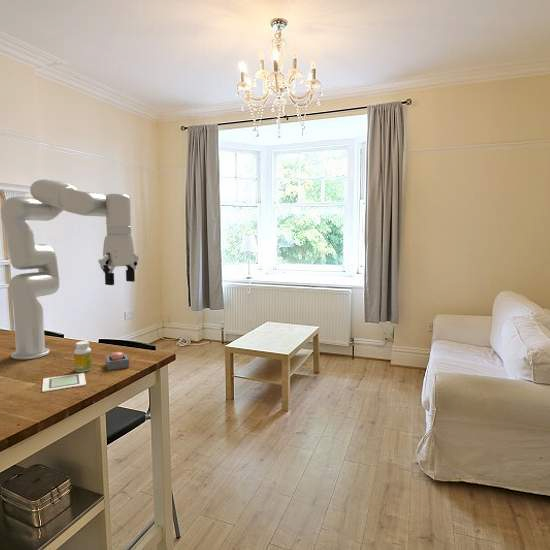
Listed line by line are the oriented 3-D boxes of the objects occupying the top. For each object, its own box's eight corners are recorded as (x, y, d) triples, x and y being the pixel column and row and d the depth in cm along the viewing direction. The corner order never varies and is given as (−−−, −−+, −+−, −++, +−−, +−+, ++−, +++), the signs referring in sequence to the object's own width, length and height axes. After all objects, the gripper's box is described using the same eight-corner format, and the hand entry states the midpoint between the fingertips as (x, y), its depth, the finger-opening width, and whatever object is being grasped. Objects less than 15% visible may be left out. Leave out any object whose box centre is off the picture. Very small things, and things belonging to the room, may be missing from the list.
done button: (110, 359, 143) (110, 352, 143) (122, 358, 145) (122, 351, 145) (111, 362, 140) (111, 356, 140) (123, 361, 142) (123, 354, 142)
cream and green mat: (43, 379, 129) (43, 378, 129) (84, 373, 135) (84, 372, 135) (42, 392, 119) (42, 390, 119) (86, 385, 125) (86, 383, 125)
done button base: (105, 364, 144) (105, 356, 144) (126, 361, 148) (126, 353, 147) (108, 370, 138) (107, 362, 138) (129, 367, 141) (128, 359, 141)
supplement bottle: (85, 373, 135) (84, 345, 134) (71, 371, 136) (70, 344, 135) (95, 367, 141) (94, 341, 139) (81, 366, 142) (80, 339, 140)
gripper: (128, 231, 140) (129, 279, 142) (89, 231, 124) (91, 285, 126) (145, 232, 138) (146, 280, 140) (108, 232, 122) (110, 287, 124)
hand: (120, 283), depth 133 cm, fingers open, 9 cm apart
